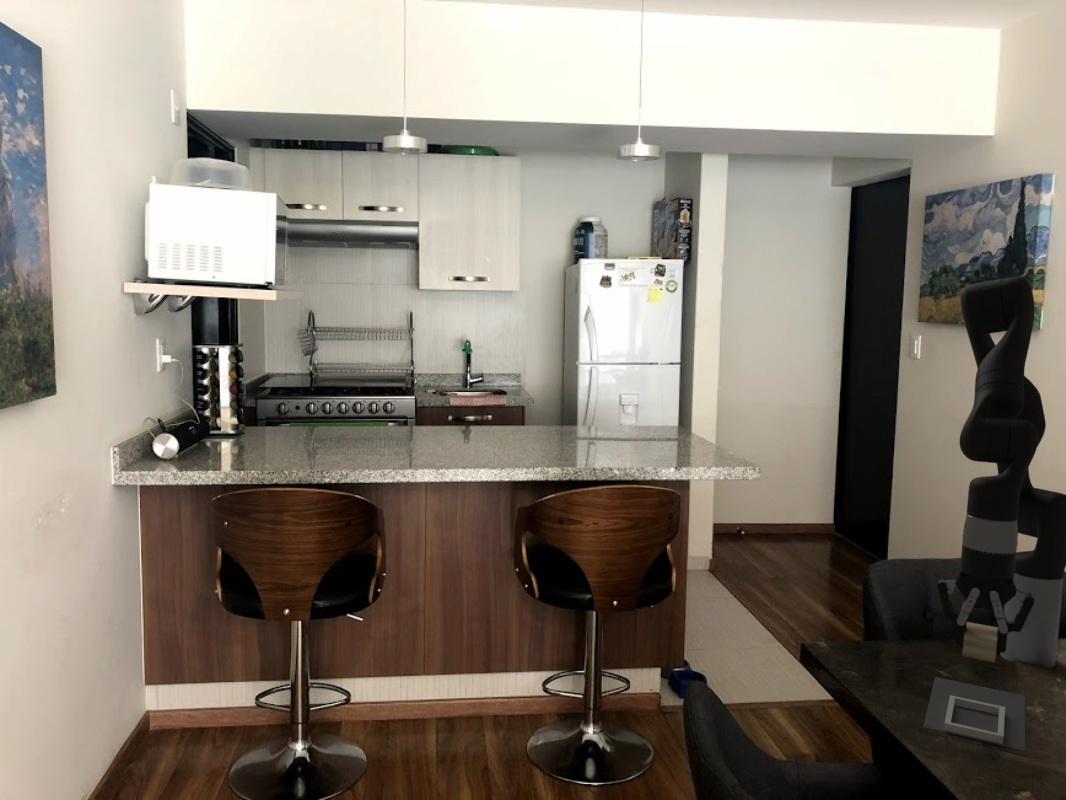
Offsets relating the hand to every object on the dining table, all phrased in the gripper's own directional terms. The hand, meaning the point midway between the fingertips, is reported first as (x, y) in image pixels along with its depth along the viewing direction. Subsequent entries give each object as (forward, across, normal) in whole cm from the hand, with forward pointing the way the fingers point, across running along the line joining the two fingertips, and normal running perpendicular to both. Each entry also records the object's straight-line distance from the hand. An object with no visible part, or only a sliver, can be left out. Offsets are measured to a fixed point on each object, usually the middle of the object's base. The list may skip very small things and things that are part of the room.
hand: (980, 649), depth 137 cm
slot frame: (+13, 0, 0) cm, 13 cm away
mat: (+13, 0, +5) cm, 14 cm away
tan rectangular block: (0, 0, 0) cm, 0 cm away
